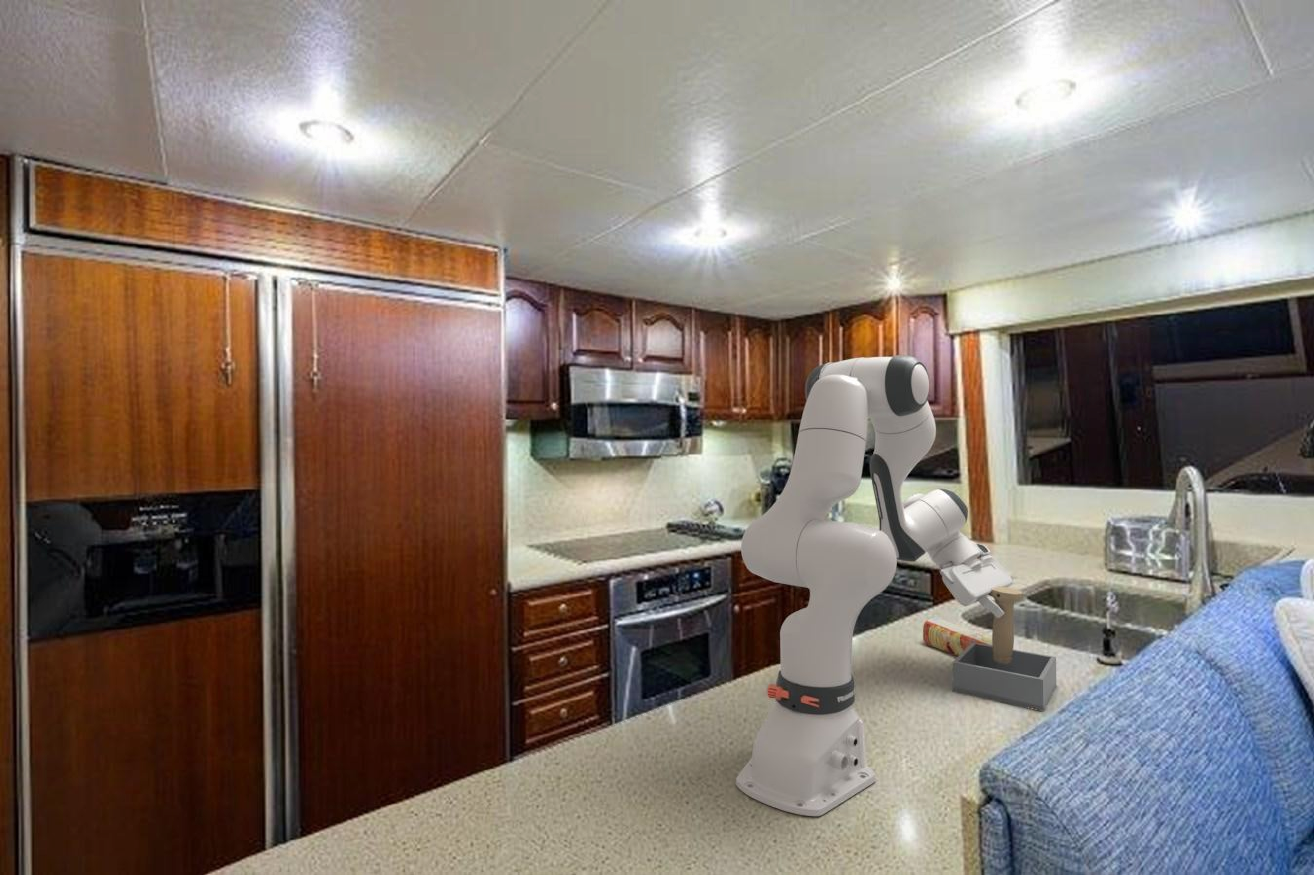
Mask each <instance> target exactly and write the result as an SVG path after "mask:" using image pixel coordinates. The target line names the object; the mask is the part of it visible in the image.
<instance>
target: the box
mask: <svg viewBox="0 0 1314 875" xmlns="http://www.w3.org/2000/svg"><path fill="white" fill-rule="evenodd" d="M993 654H994V652H993V646H991V645H985V644H979V643H974V642H972V643H971V644H970V645H969V646H968V647H967V648H966V649H965V650H964V651H963V652H962V653H961V654H960V655H959V656H956V658H955V659H954V660H953V661H952V692H954V693H958V694H962V695H966V696H972V697H976V698H980V699H983V700H990V701H992V702H993V701H994V702H999V703H1001V704H1003V703H1004V704H1008V705H1012V706H1017V707H1020V708H1025V707H1027V708H1026V709H1029V708H1033V709H1032V710H1034V709H1037V710H1036V711H1038V710H1044V708H1045V707H1046V708H1047V706H1048V704H1047V703H1049V702H1048V701H1050V699H1051V697H1052V696H1053V694H1054V691H1055V689H1056V688H1057V657H1056V656H1053V655H1046V654H1040V653H1037V652H1029V651H1024V650H1019V649H1014V648H1013V652H1012V655H1011V657H1012V660H1011V663H1008V664H1003V663H997V662H996V661H995V660H994V659H993ZM1046 705H1047V706H1046ZM1028 707H1029V708H1028ZM1046 708H1045V709H1046ZM1044 711H1045V710H1044Z"/></svg>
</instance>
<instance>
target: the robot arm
mask: <svg viewBox="0 0 1314 875" xmlns="http://www.w3.org/2000/svg"><path fill="white" fill-rule="evenodd" d="M804 385H805V387H804V394H805V400H806V402H805V405H804V408H803V411H802V416H801V419H800V424H799V429H798V435H797V441H796V447H795V452H794V457H793V462H792V466H791V469H790V474H789V476H788V479H787V482H786V484H785V486H784V488H783V490H782V491H781V493H780V494H779V497H778V498H777V499H776V501H775V502H774V503H773V505H772V506H771V507H770V508H769V509H768V510H767V511H766V512H765V513H764V514H762V515H761V516H759V517H758V518H756V519H755V520H753V521H751V523H750V524H749V525H748V526H747V528H746V529H745V531H744V533H743V536H742V539H741V548H740V552H741V557H742V560H743V564H744V565H745V567H746V569H747V570H748V571H749V572H750V573H752V574H753V575H757V576H759V577H761V578H763V579H765V580H768V581H770V582H773V583H779V584H784V585H790V586H795V587H802V588H807V589H809V601H808V603H807V604H808V605H807V606H806V607H803V608H801V609H799V610H797V611H795V612H793V613H791V614H790V615H788V616H787V617H786V618H785V620H784V621H783V623H782V625H781V628H780V632H779V635H780V636H779V638H780V640H779V642H780V645H779V646H780V649H779V650H780V670H778V673H777V678H776V682H775V684H772V683H771V684H769V685H768V687H767V689H766V694H767V695H766V696H767V697H768V698H770V699H775V700H774V702H773V704H772V706H771V708H770V709H769V712H768V713H767V715H766V717H765V719H764V721H763V723H762V726H760V730H759V731H758V733H757V735H756V737H755V739H754V741H753V746H752V754H751V758H750V759H749V760H748V762H747V763H746V764H745V765H744V767H743V768H742V769H741V771H740V772H739V773H738V774H737V777H736V778H735V786H736V787H737V788H738V789H739V790H740V791H741V792H742V793H744V794H745V795H747V796H749V797H750V798H752V799H754V800H756V801H758V802H760V803H762V804H765V805H768V806H769V807H773V808H776V809H779V810H781V811H784V812H787V813H792V814H795V815H800V816H806V817H808V816H809V817H820V816H823V815H825V814H826V813H828V812H829V811H832V809H834V808H836V807H837V806H839V805H840V804H842V803H843V802H845V801H847V800H849V799H850V798H851V797H853V796H855V795H856V794H858V793H859V792H861V791H863V790H864V789H866V788H867V787H869V786H871V785H872V784H874V783H875V782H876V780H877V779H876V778H877V777H876V773H875V771H874V770H873V769H872V768H871V767H869V766H868V761H867V749H866V737H865V735H866V734H865V726H864V722H863V720H862V718H861V717H860V715H859V714H858V712H857V710H856V708H855V705H854V704H855V701H856V684H855V677H854V675H853V673H852V658H853V656H852V655H853V654H852V652H853V638H854V637H853V635H854V631H855V626H856V623H857V620H858V617H859V616H860V614H861V611H862V610H863V609H864V607H865V606H866V605H867V604H868V603H869V602H870V601H871V599H873V598H875V597H876V596H877V595H879V594H881V593H882V592H884V591H885V590H886V589H887V588H888V586H890V584H891V582H892V581H893V579H894V577H895V575H896V571H897V566H898V565H897V562H898V561H903V562H911V563H912V562H913V563H914V562H915V563H916V561H917V560H919V559H920V558H921V557H923V556H924V555H925V554H926V552H927V554H928V555H929V558H930V559H931V561H932V562H933V563H934V564H935V566H937V568H938V569H939V573H940V575H941V580H942V582H943V584H944V586H946V589H948V590H949V593H950V594H951V595H952V596H953V597H954V599H955V600H956V601H957V602H958V603H959V604H960V605H961V606H963V607H968V606H970V605H973V604H975V603H979V604H980V605H981V606H982V607H983V608H984V609H987V611H989V612H991V613H992V615H993V616H994V615H995V616H996V617H997V618H1000V617H1002V616H1003V615H1004V614H1006V611H1005V610H1004V609H1003V607H1002V606H1001V605H1000V606H999V605H997V604H996V603H995V600H993V597H992V596H991V595H989V593H991V592H992V590H991V589H993V588H996V587H998V586H1002V587H1008V588H1010V587H1011V586H1012V585H1013V584H1014V582H1013V579H1012V576H1011V575H1010V574H1009V572H1008V571H1007V570H1006V569H1005V568H1004V567H1003V565H1002V564H1001V563H1000V562H999V561H998V560H997V559H996V558H995V557H994V556H992V555H990V553H991V550H990V549H989V548H988V547H987V546H986V545H985V544H981V543H977V542H974V541H972V540H970V538H968V537H967V536H966V535H965V534H963V533H962V532H961V531H960V530H962V528H963V527H964V525H966V524H967V522H968V517H969V508H968V506H967V505H966V504H965V502H964V501H963V500H962V499H961V497H959V495H958V494H956V493H955V492H954V491H953V490H949V489H946V488H936V489H934V490H932V491H930V492H927V493H925V494H923V493H916V494H912V495H911V496H909V497H908V498H906V499H905V500H904V501H903V498H902V486H903V484H904V482H905V480H906V478H907V477H908V475H909V474H910V473H911V471H913V469H914V468H915V467H916V466H917V464H918V463H919V462H920V461H921V460H922V459H924V457H925V456H926V455H927V454H928V453H929V451H930V450H931V449H932V447H933V444H934V442H935V440H936V435H937V429H936V420H935V417H934V415H933V411H932V409H931V405H930V404H929V403H930V402H929V401H928V400H929V397H930V391H931V390H930V389H931V384H930V375H929V373H928V370H927V368H926V365H925V364H924V363H923V362H921V361H920V360H919V359H918V358H916V357H915V356H911V355H904V354H903V355H901V354H900V355H899V354H897V355H893V356H874V357H873V356H872V357H864V356H862V357H854V358H849V359H845V360H840V361H836V362H832V361H831V362H826V363H822V364H820V365H818V366H816V367H814V368H813V369H812V371H810V373H809V375H808V376H807V379H806V381H805V384H804ZM869 420H870V422H871V424H872V427H873V430H874V435H875V439H874V441H875V443H874V449H873V450H874V451H873V454H872V456H871V458H870V460H869V473H870V479H871V484H872V490H873V494H874V495H873V496H874V500H875V504H876V509H877V514H878V522H879V523H878V524H879V529H876V528H873V527H871V526H867V525H863V524H860V523H856V522H849V521H847V522H846V521H837V520H825V519H826V517H827V515H828V513H829V512H830V511H831V509H832V508H833V507H834V506H835V505H837V504H838V503H840V502H842V501H845V500H846V499H848V498H849V497H852V496H853V495H854V494H856V492H857V491H858V489H859V487H860V485H861V481H862V475H863V469H864V468H863V467H864V461H865V460H864V458H865V455H866V454H865V453H866V446H867V437H868V429H869V428H868V425H869ZM1014 610H1016V605H1014Z"/></svg>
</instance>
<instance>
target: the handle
mask: <svg viewBox="0 0 1314 875" xmlns="http://www.w3.org/2000/svg"><path fill="white" fill-rule="evenodd" d="M991 590H992V592H991V593H989V595H991V596H990V597H991V598H992V599H994V602H995V603H996V604H997V605H999V606H1000V605H1001V606H1002V607H1003V609H1004V610H1005V611H1006V614H1004V615H1003V616H1002V617H1000V618H997V617H996V616H995V615H994V614H993V624H992V636H991V638H992V646H993V652H994V654H993V659H994V660H995V661H996V662H997V663H1003V664H1008V663H1011V660H1012V657H1011V655H1012V652H1013V649H1014V644H1015V621H1014V619H1015V618H1014V617H1015V615H1014V614H1015V613H1014V606H1015V603H1016V602H1018V601H1021V600H1022V599H1023V596H1024V595H1023V594H1024V593H1023V591H1022V590H1019V589H1015V588H1011V587H1002V586H998V587H996V588H993V589H991Z"/></svg>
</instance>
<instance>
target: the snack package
mask: <svg viewBox="0 0 1314 875" xmlns="http://www.w3.org/2000/svg"><path fill="white" fill-rule="evenodd" d="M922 628H923V629H922V631H923V632H922V639H923V642H924V643H925V644H926V645H927V646H930V647H933V648H936V649H939V650H941V651H943V652H946V653H948V654H951V655H954V656H956V657H958V656H959V655H960V654H961V653H962V652H963V651H964V650H965V649H966V648H967V647H968V646H969V645H970V644H971V643H972V642H974V643H979V644H985V645H991V646H992V636H991V637H990V636H988V635H985V634H983V633H981V632H978V631H974V630H971V629H969V628H966V627H962V626H960V625H957V624H955V623H952V622H950V621H947V620H944V619H942V618H940V617H931V618H928V619H927V620H926V621H925V622H924V623H923V627H922Z"/></svg>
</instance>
